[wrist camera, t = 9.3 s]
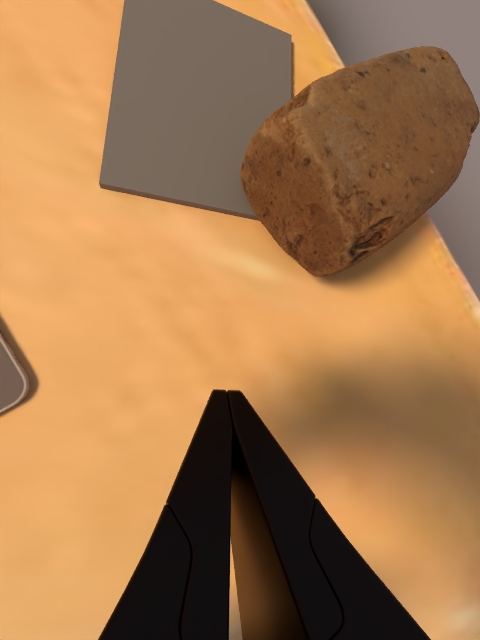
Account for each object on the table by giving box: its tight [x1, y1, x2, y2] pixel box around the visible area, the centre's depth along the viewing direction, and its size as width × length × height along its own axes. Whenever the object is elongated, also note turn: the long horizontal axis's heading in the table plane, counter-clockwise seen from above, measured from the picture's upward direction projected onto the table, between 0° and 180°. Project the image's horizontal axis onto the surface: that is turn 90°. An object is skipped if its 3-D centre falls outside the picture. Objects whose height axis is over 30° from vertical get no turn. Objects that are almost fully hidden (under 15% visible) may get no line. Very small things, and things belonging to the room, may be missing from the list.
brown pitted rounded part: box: [239, 46, 480, 276], centre depth 20 cm, size 11×8×20 cm
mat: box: [99, 0, 291, 220], centre depth 21 cm, size 19×14×1 cm
